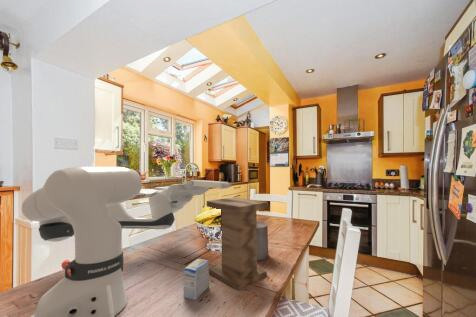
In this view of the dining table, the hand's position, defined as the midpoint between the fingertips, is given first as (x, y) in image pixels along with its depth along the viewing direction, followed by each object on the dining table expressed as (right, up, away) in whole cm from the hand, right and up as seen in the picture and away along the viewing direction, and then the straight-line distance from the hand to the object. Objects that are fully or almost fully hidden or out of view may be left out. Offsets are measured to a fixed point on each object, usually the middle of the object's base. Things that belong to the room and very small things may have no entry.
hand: (196, 182), depth 102 cm
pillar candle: (+27, -32, -6) cm, 42 cm away
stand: (+19, -31, -22) cm, 42 cm away
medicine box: (+6, -31, -33) cm, 46 cm away
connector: (+7, -1, -7) cm, 10 cm away
